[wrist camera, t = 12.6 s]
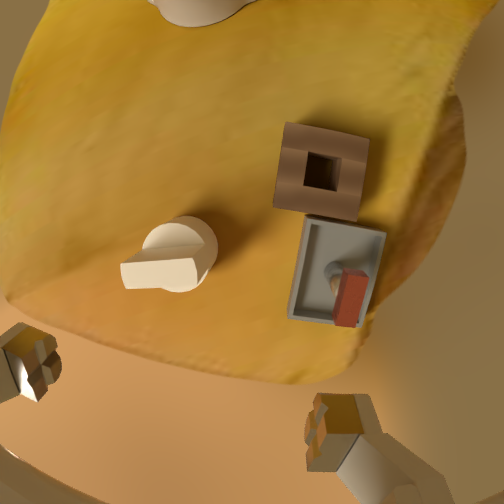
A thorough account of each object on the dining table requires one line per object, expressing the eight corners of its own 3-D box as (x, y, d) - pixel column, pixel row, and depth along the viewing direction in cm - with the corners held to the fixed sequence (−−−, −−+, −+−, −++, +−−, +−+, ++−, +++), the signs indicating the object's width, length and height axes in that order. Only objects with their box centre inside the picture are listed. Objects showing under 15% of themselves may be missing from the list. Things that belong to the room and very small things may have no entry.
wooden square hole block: (284, 129, 37) (285, 121, 31) (356, 143, 37) (370, 139, 31) (273, 202, 40) (272, 207, 34) (345, 214, 40) (356, 221, 34)
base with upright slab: (214, 212, 41) (190, 228, 29) (222, 274, 43) (203, 311, 32) (153, 219, 42) (113, 237, 30) (164, 278, 44) (130, 312, 32)
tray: (304, 215, 40) (307, 218, 37) (379, 228, 40) (387, 233, 37) (286, 309, 44) (287, 318, 41) (356, 318, 43) (361, 327, 40)
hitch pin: (328, 249, 40) (345, 274, 30) (348, 252, 40) (371, 278, 30) (319, 290, 42) (332, 325, 32) (339, 292, 42) (357, 328, 31)
